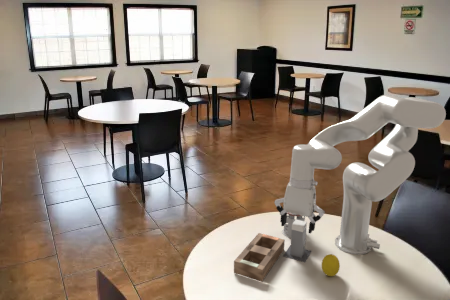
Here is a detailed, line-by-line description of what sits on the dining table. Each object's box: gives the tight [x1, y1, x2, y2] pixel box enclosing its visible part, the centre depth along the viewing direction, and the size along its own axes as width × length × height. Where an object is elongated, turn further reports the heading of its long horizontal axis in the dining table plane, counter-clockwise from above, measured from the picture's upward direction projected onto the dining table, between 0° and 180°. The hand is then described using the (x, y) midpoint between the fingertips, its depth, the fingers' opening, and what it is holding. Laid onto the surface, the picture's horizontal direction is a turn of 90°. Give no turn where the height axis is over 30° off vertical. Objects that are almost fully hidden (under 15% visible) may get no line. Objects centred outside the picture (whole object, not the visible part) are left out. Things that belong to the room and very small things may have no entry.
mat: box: [282, 244, 313, 263], centre depth 134 cm, size 8×8×1 cm
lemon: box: [321, 253, 341, 277], centre depth 121 cm, size 6×6×8 cm
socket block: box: [233, 232, 286, 283], centre depth 130 cm, size 10×20×5 cm, turn 152°
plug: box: [290, 220, 308, 258], centre depth 132 cm, size 4×4×12 cm
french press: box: [281, 212, 306, 239], centre depth 145 cm, size 10×12×25 cm
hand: (297, 228), depth 131 cm, fingers open, 9 cm apart
